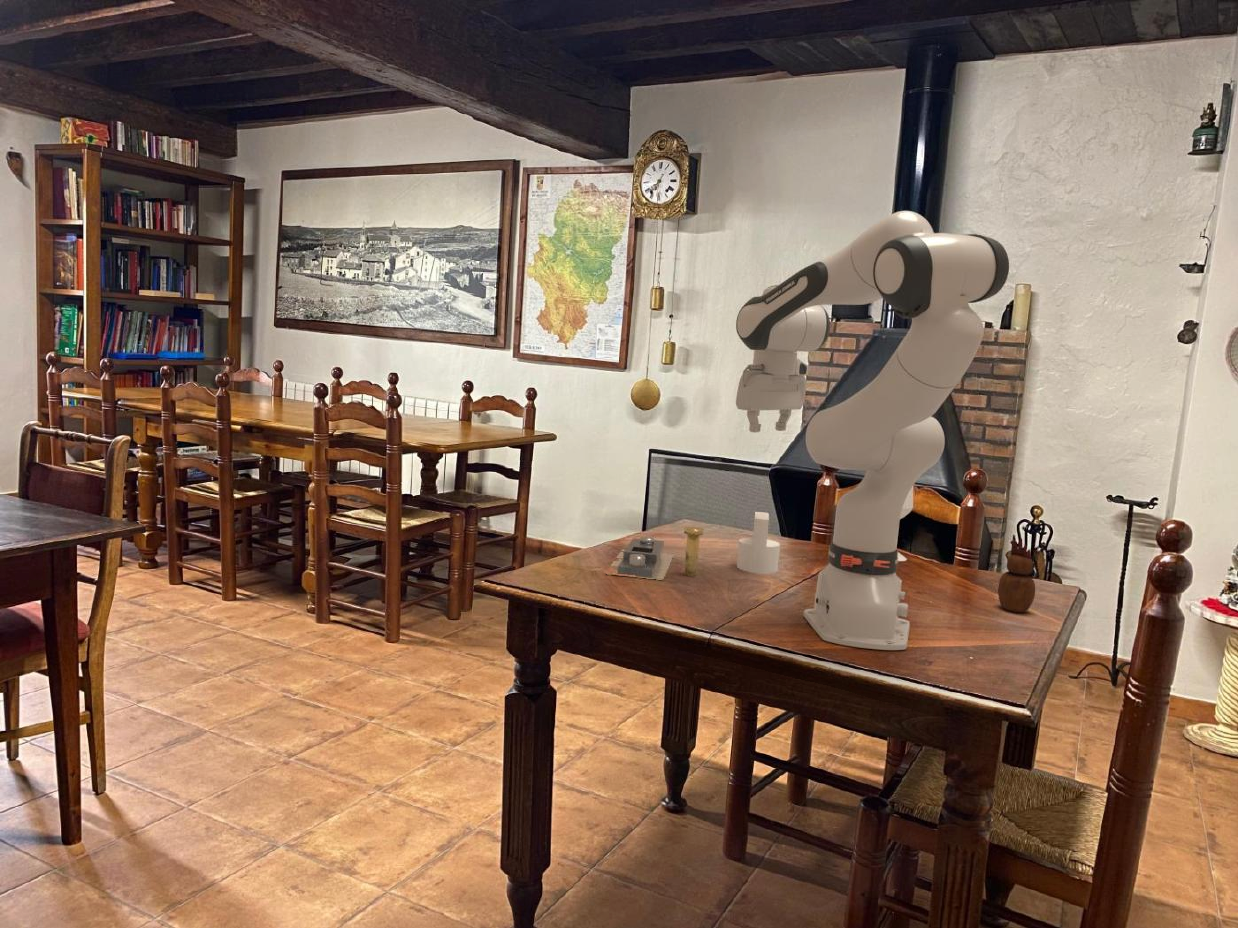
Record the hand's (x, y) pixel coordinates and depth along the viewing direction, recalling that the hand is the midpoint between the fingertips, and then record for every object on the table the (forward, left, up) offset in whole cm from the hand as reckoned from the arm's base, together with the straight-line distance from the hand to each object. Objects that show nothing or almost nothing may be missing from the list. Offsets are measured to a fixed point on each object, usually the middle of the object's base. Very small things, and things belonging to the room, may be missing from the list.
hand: (767, 431), depth 188 cm
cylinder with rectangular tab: (+8, -1, -32) cm, 33 cm away
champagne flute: (+34, -34, -32) cm, 57 cm away
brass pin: (-4, +13, -31) cm, 34 cm away
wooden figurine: (-5, -52, -32) cm, 61 cm away
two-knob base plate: (0, +24, -31) cm, 40 cm away
